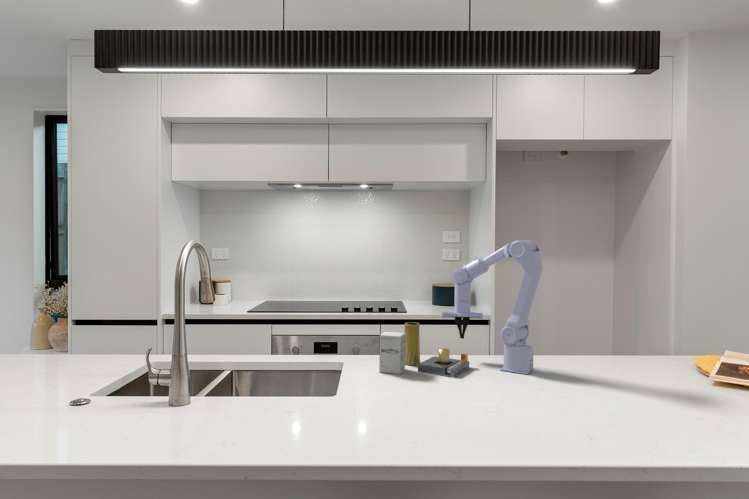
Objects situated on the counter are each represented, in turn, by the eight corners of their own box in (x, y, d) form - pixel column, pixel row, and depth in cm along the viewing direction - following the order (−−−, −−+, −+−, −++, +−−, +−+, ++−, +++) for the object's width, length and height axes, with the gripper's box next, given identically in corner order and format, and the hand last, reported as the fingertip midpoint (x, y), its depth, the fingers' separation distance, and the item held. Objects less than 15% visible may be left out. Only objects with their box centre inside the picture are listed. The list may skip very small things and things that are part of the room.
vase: (400, 362, 182) (400, 322, 182) (415, 360, 185) (415, 321, 184) (408, 366, 177) (408, 325, 176) (423, 364, 179) (424, 324, 179)
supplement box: (378, 372, 169) (378, 334, 168) (384, 367, 176) (385, 330, 175) (400, 374, 167) (400, 336, 166) (405, 369, 174) (406, 332, 173)
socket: (469, 368, 175) (469, 361, 175) (454, 377, 164) (454, 369, 164) (434, 363, 182) (434, 356, 181) (417, 371, 171) (417, 363, 170)
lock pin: (467, 364, 177) (467, 354, 177) (451, 373, 165) (451, 362, 165) (462, 363, 178) (462, 353, 178) (446, 372, 166) (446, 361, 166)
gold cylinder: (450, 369, 173) (451, 349, 173) (446, 371, 170) (446, 351, 170) (441, 368, 175) (441, 347, 175) (436, 370, 172) (436, 349, 172)
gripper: (441, 301, 183) (441, 339, 184) (483, 302, 181) (482, 340, 181) (442, 299, 190) (442, 335, 191) (482, 300, 188) (482, 336, 188)
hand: (462, 337), depth 186 cm, fingers closed
